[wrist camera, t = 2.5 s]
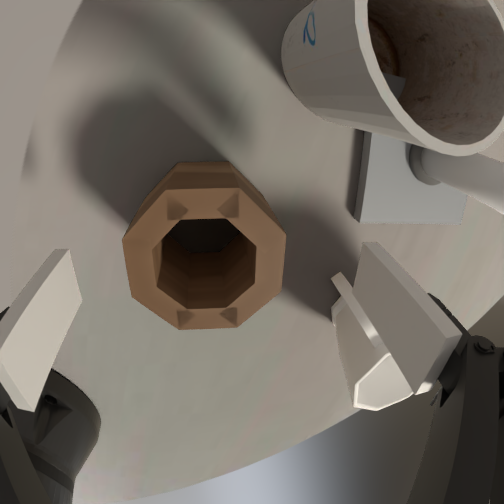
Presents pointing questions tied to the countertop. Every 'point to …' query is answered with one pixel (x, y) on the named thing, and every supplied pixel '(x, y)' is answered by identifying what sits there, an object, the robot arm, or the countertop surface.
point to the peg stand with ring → (421, 180)
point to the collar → (210, 263)
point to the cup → (365, 354)
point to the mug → (402, 69)
